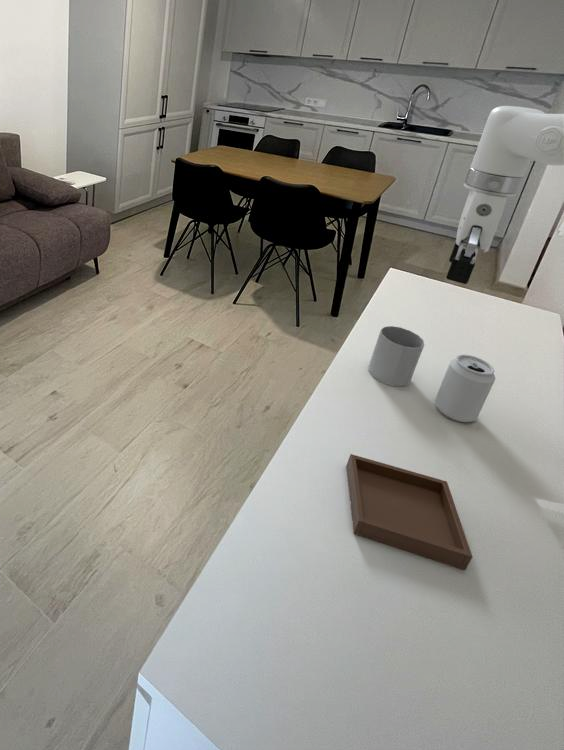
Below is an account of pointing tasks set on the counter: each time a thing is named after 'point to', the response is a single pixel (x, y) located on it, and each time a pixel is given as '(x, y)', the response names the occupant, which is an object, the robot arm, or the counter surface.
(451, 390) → the can
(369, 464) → the tray
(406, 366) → the cup
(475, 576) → the counter surface
